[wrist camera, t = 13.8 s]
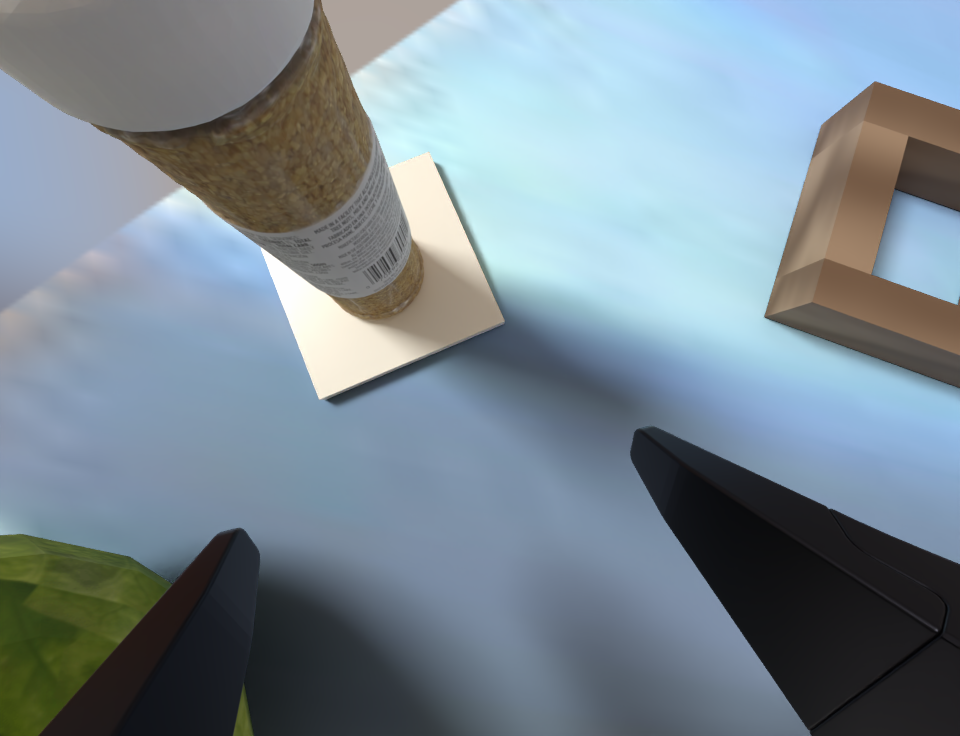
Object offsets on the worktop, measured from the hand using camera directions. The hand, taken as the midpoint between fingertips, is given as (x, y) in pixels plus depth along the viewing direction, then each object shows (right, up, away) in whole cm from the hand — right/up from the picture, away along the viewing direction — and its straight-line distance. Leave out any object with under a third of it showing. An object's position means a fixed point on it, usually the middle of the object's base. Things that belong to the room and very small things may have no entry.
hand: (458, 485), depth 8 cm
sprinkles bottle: (-4, +7, +9) cm, 12 cm away
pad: (-4, +7, +9) cm, 12 cm away
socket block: (+21, +8, +9) cm, 24 cm away
